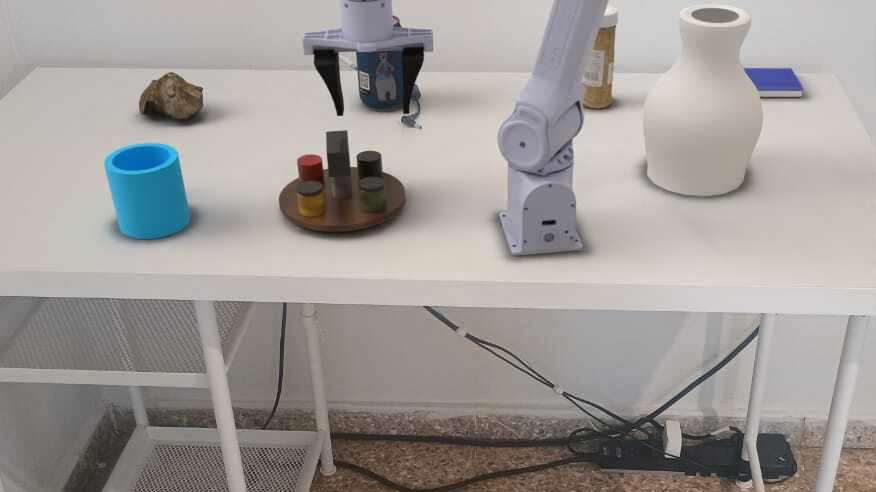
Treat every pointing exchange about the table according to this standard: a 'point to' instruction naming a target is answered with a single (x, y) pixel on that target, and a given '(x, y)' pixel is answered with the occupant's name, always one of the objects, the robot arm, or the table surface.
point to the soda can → (381, 78)
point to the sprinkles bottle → (601, 63)
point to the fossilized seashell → (171, 98)
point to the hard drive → (775, 82)
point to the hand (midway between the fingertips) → (373, 111)
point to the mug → (147, 190)
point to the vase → (704, 107)
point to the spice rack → (341, 190)
